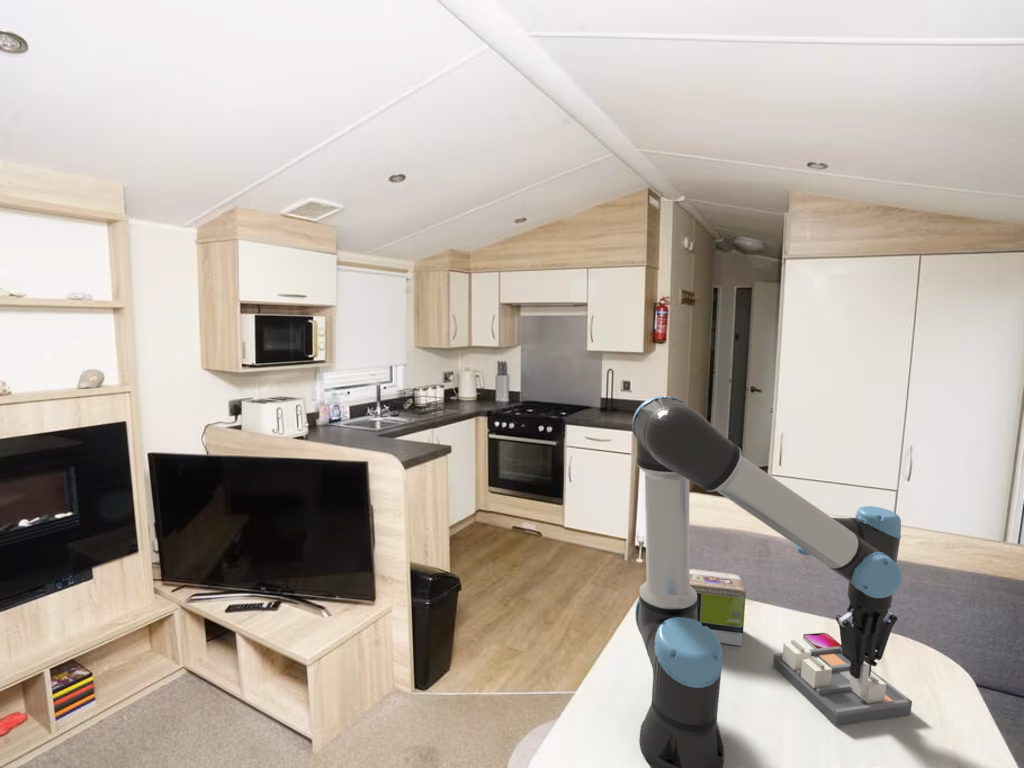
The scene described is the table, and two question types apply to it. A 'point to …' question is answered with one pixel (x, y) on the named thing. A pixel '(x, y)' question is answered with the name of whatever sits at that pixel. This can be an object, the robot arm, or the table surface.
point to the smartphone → (820, 640)
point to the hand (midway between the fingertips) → (857, 690)
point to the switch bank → (843, 692)
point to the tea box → (720, 603)
